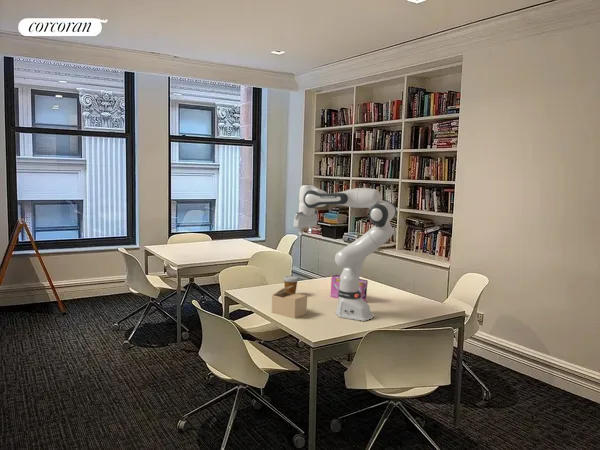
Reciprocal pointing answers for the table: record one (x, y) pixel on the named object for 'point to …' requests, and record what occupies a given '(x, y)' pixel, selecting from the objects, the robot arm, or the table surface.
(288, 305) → the kraft carton
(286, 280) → the disposable coffee cup
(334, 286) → the gum box
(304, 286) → the table surface
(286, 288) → the carton flap
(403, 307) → the table surface
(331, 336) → the table surface
